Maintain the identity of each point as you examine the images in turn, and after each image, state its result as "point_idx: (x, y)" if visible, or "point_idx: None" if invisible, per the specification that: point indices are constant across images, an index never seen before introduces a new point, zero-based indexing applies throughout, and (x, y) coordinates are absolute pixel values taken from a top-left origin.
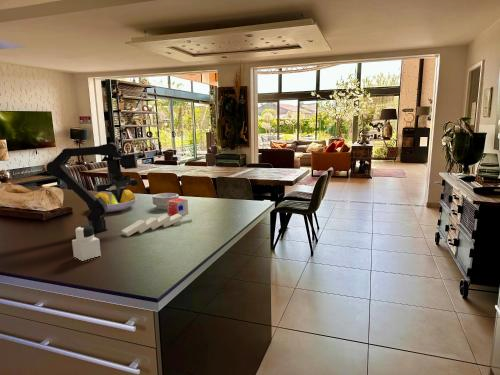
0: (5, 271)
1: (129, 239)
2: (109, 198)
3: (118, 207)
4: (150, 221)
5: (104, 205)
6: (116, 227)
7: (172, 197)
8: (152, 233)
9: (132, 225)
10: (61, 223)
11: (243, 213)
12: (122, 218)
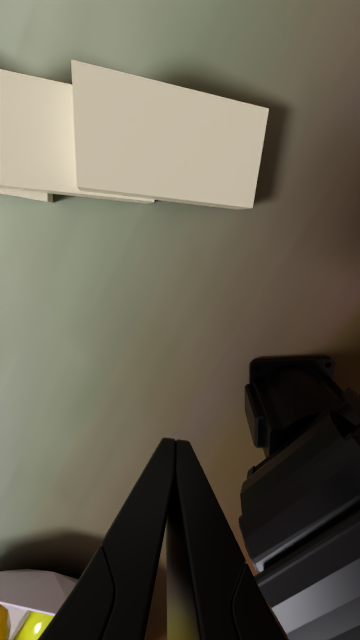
0: None
1: (285, 34)
2: None
3: (50, 583)
4: (19, 105)
5: (320, 513)
6: (187, 369)
7: None
8: (91, 26)
9: (176, 169)
10: None
11: None
12: (89, 476)
